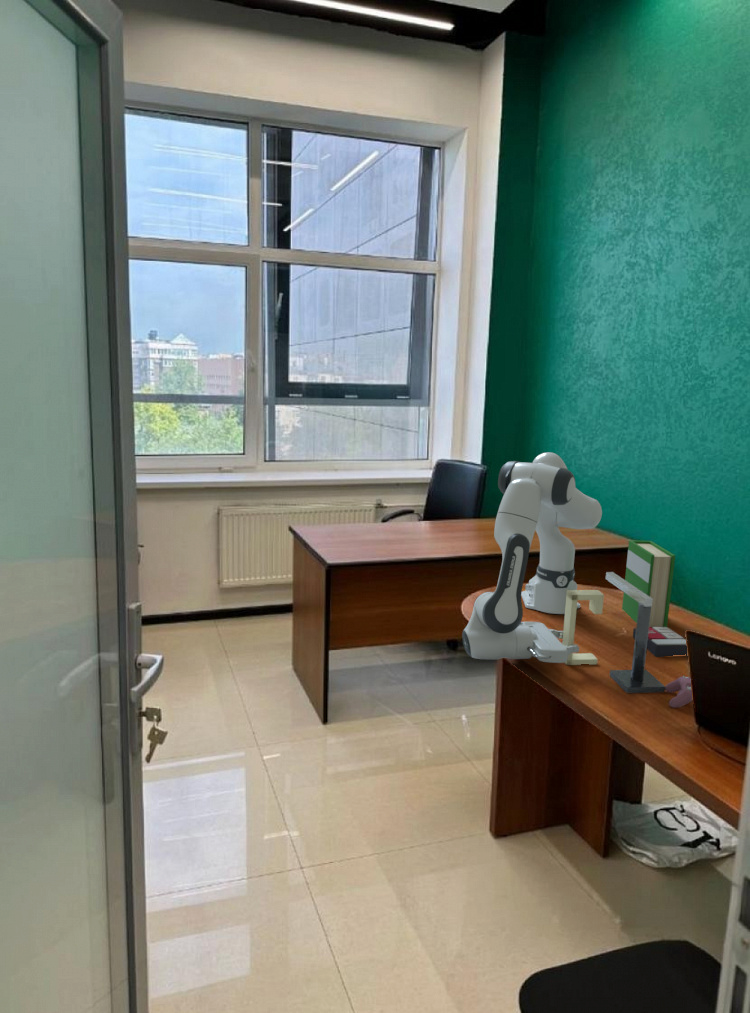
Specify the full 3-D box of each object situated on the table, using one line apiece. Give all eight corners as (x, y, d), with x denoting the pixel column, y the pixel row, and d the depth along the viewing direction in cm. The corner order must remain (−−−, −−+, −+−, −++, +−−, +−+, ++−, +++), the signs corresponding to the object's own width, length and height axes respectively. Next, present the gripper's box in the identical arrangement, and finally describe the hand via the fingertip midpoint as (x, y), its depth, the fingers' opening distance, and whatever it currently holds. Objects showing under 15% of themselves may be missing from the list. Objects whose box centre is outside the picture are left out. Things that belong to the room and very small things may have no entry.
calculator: (667, 625, 213) (694, 642, 198) (666, 639, 213) (692, 657, 199) (632, 625, 212) (656, 642, 197) (631, 639, 212) (655, 657, 198)
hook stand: (585, 650, 200) (592, 572, 195) (618, 650, 201) (626, 571, 196) (626, 693, 175) (636, 603, 170) (664, 692, 176) (675, 603, 171)
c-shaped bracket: (560, 658, 194) (566, 590, 190) (591, 658, 195) (597, 589, 191) (566, 665, 190) (572, 595, 186) (597, 664, 191) (603, 594, 187)
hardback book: (666, 629, 218) (675, 555, 213) (643, 629, 218) (651, 555, 213) (643, 609, 236) (651, 540, 231) (621, 609, 235) (629, 540, 230)
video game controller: (684, 716, 167) (702, 694, 165) (667, 705, 168) (684, 683, 166) (679, 698, 177) (695, 676, 174) (662, 688, 177) (678, 666, 175)
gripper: (535, 646, 179) (587, 645, 181) (512, 617, 199) (558, 617, 200) (534, 669, 180) (585, 668, 182) (510, 638, 200) (557, 637, 202)
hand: (571, 641), depth 191 cm, fingers open, 8 cm apart
